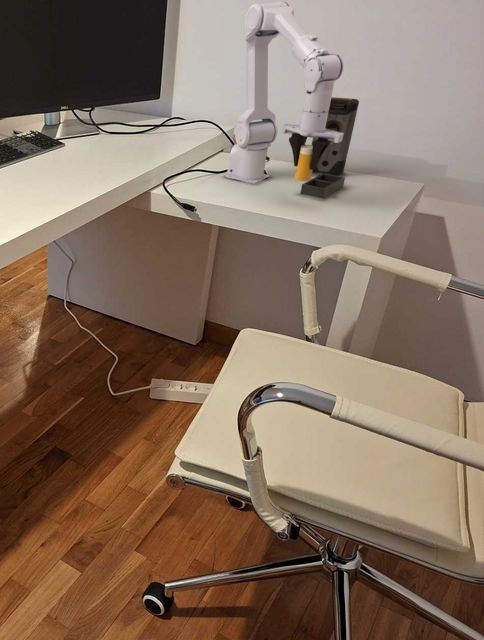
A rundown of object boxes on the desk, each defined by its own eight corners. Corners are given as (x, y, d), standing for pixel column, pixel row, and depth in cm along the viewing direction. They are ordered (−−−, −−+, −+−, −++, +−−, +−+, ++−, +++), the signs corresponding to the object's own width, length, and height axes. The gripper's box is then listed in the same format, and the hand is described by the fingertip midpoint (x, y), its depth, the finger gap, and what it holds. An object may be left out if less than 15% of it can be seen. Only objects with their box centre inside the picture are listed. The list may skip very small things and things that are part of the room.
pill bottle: (292, 179, 166) (297, 147, 162) (299, 175, 168) (305, 143, 164) (306, 182, 164) (312, 149, 160) (313, 178, 166) (319, 146, 162)
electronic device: (304, 174, 188) (318, 101, 177) (309, 168, 192) (323, 96, 181) (340, 178, 184) (356, 103, 173) (344, 172, 188) (360, 98, 177)
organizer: (299, 194, 175) (302, 184, 173) (320, 183, 181) (322, 173, 180) (322, 200, 171) (324, 189, 169) (342, 188, 177) (345, 177, 176)
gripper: (278, 109, 159) (269, 165, 167) (338, 118, 150) (325, 176, 158) (293, 103, 163) (283, 158, 171) (351, 111, 154) (339, 169, 162)
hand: (304, 166), depth 165 cm, fingers closed on pill bottle, 3 cm apart
